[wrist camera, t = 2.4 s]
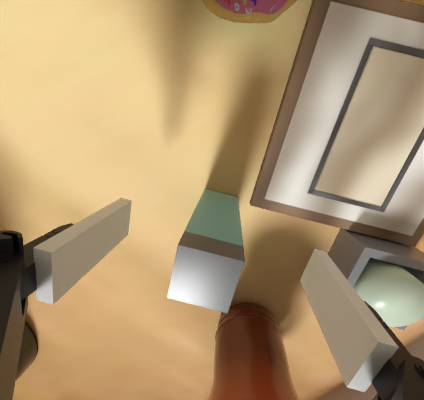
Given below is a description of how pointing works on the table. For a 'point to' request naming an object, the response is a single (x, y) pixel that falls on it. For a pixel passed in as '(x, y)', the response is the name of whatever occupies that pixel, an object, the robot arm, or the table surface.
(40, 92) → the table surface
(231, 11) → the donut
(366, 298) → the button
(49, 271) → the robot arm
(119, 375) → the table surface
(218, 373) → the mug
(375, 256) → the button frame
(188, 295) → the grey and mint block
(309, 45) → the picture frame
